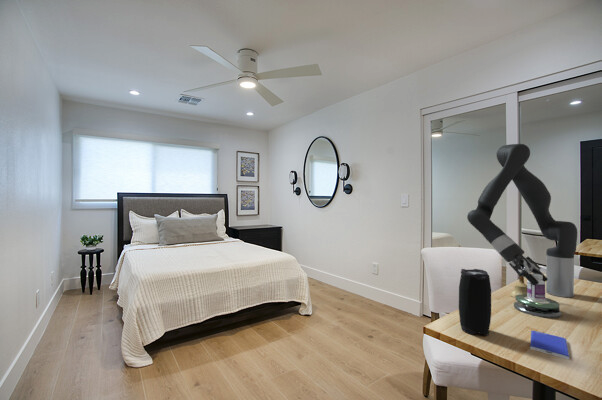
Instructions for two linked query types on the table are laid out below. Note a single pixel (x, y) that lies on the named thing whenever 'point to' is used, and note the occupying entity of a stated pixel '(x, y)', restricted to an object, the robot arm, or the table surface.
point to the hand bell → (519, 288)
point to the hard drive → (549, 344)
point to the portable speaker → (475, 301)
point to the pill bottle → (536, 289)
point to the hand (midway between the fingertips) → (541, 282)
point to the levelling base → (538, 307)
